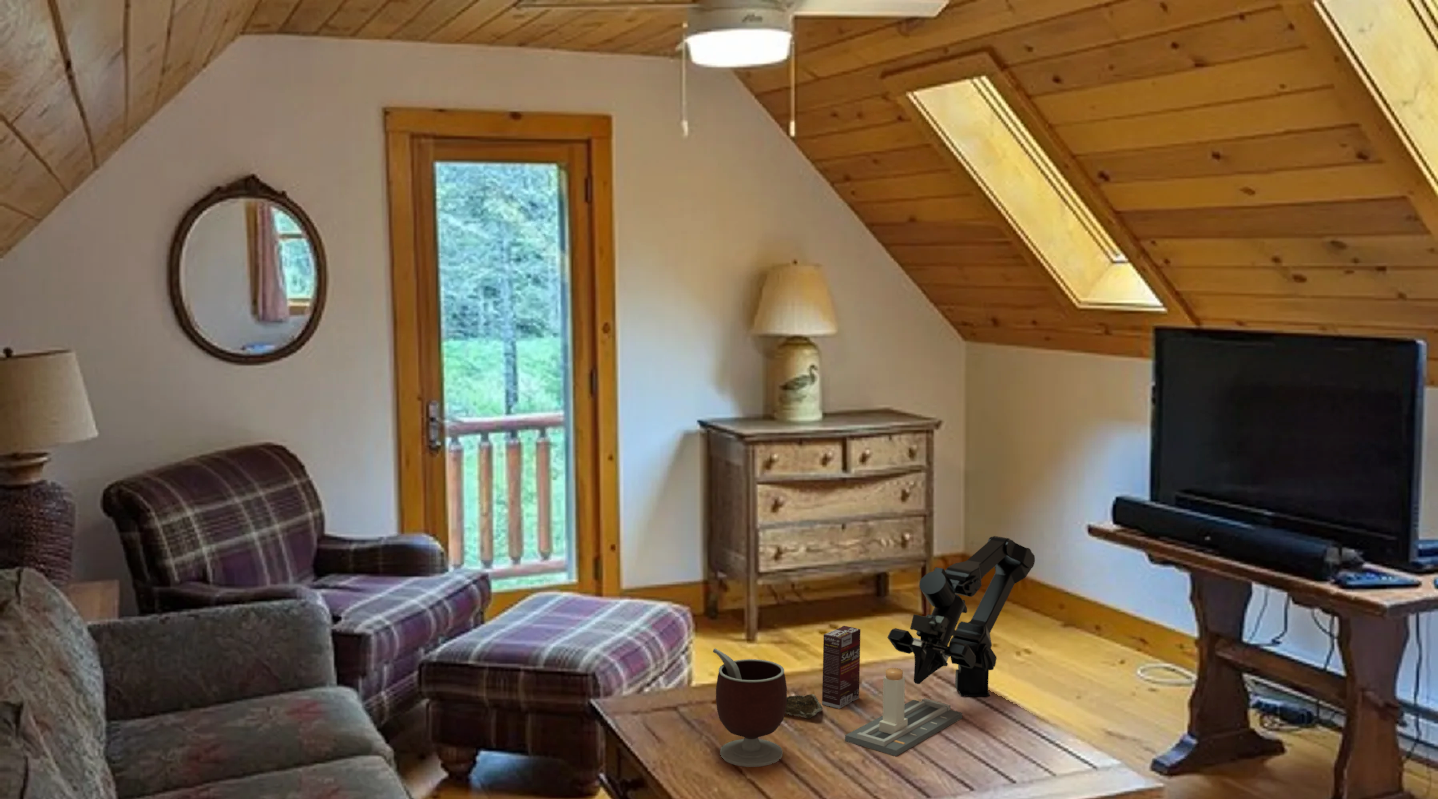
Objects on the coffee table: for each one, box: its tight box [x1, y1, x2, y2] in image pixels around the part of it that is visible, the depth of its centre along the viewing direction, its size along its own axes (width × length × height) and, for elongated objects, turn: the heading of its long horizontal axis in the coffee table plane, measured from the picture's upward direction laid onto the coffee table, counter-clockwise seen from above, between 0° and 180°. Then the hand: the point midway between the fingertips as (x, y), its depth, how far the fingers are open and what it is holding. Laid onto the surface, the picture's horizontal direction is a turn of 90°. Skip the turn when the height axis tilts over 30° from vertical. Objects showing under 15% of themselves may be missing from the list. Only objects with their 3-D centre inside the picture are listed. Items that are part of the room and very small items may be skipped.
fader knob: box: [879, 667, 908, 735], centre depth 253 cm, size 5×4×12 cm
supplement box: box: [821, 625, 861, 710], centre depth 272 cm, size 9×5×16 cm, turn 143°
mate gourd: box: [712, 648, 788, 768], centre depth 244 cm, size 16×14×20 cm
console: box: [844, 698, 963, 757], centre depth 257 cm, size 26×12×2 cm, turn 140°
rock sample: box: [785, 693, 823, 720], centre depth 266 cm, size 10×8×9 cm
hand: (916, 683), depth 259 cm, fingers closed
